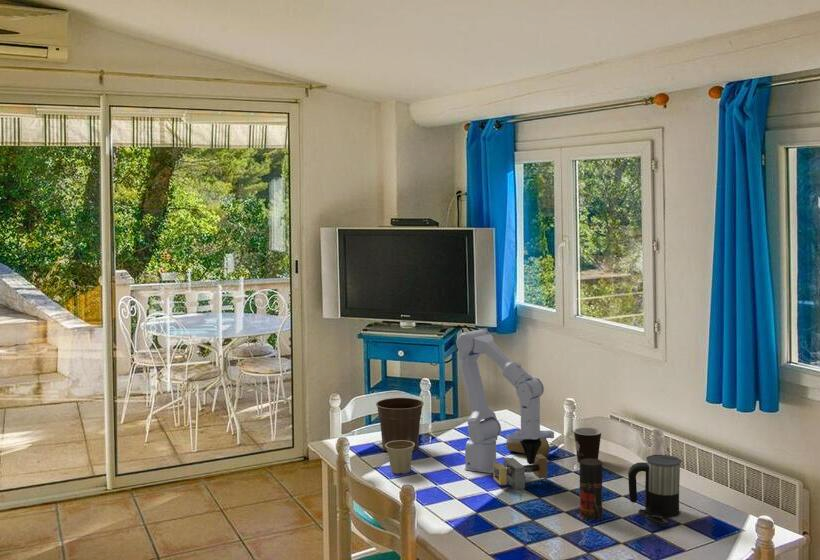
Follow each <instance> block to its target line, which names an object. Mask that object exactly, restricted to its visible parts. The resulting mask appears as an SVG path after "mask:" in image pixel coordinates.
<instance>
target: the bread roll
mask: <svg viewBox="0 0 820 560" xmlns="http://www.w3.org/2000/svg"><path fill="white" fill-rule="evenodd" d="M519 432H521V429H520V430H519V429H518V430H517V431H515V432H514V433H513V434H515V433H519ZM547 439H548V438H545V439H540V441H541V446H540V447H539V449H538V451H537V454H542V455H543V456H545V457H546V456H548V455H549V454H550V445H549V441H548V440H547ZM505 445H506V448H507V450H509V451H510V452H515V453H522V454H525V451H524V449H523V447H522V445H521V443H520V441H516V442H512V443H509V442H507V441H506V444H505Z"/></svg>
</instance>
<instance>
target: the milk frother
mask: <svg viewBox="0 0 820 560" xmlns="http://www.w3.org/2000/svg"><path fill="white" fill-rule="evenodd" d="M682 462H683V461H682V459H681V458H679V457H677V456H674V455H668V454H651V455H648V456H647V457H646V462H636V463H633V464H632V465H631V466H630V467H629V469H628V473H627V474H628V475H627V476H628V494H629V495H628V497H629V501H630V502H631V503H634V504H635V503H637V500H638V489H637V487H638V486H637V475H638V473H640V472H645V482H644V485H645V486H644V487H645V488H644V489H645V490H644V492H645V493H644V505H645V508H644V509H642V508H640V509H639V510H638V511H637V512H638V514H639V515H640V516H642V517H643V518H644V519H646V520H647V521H649V522H651V523H653V524H654V525H657V527H660V526H661V527H662V526H664V527H665V526H667V525H668V524H669V523H668V522H669V521H668V520H667V518H669V519H670V518H675V517H679V516H680V514H681V511H680V479H681V477H680V475H681V473H680V472H681V464H682Z"/></svg>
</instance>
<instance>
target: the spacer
mask: <svg viewBox="0 0 820 560" xmlns="http://www.w3.org/2000/svg"><path fill="white" fill-rule="evenodd" d="M496 468H497V469H498V470H499V476H495V475H494V469H496ZM492 474H493V476H492V477H493V480H494V481H495V482H497V484H498V485H499V486H504V485H505V486H506V485H507V484H508V483H507V468H506V467H505V466H504V464H503V463H502V462H501V461H496V463H493V473H492Z"/></svg>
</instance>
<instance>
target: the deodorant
mask: <svg viewBox="0 0 820 560" xmlns="http://www.w3.org/2000/svg"><path fill="white" fill-rule="evenodd" d="M579 517H580V518H582V519H584V520H589V521H595V520H599V519H600V520H601V519H602V518H603V461H602V460H601V459H599V458H598V459H592V458H587V459H582V460H580V463H579Z"/></svg>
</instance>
